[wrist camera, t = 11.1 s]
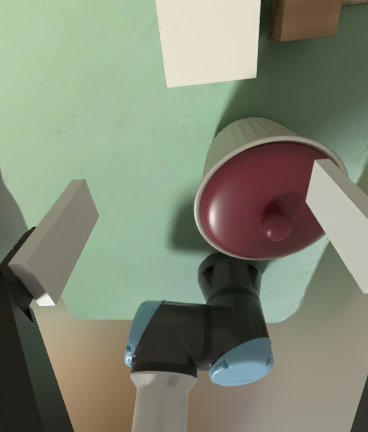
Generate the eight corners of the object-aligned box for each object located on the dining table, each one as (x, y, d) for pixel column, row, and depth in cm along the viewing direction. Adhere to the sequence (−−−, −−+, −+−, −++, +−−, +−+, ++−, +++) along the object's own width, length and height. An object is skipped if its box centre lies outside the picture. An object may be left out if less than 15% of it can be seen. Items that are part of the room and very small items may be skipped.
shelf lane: (242, 65, 36) (256, 77, 28) (172, 74, 37) (167, 87, 29) (245, -49, 29) (265, -75, 21) (159, -36, 30) (148, -56, 22)
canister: (178, 179, 47) (171, 265, 30) (221, 77, 37) (244, 123, 20) (263, 208, 51) (298, 300, 34) (324, 123, 40) (417, 194, 24)
